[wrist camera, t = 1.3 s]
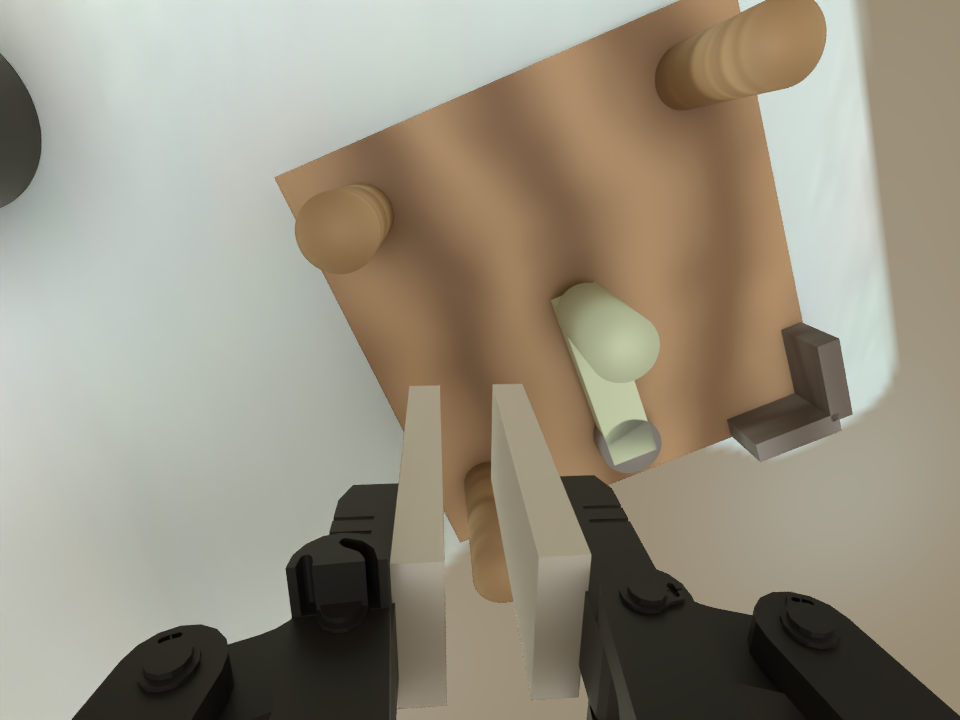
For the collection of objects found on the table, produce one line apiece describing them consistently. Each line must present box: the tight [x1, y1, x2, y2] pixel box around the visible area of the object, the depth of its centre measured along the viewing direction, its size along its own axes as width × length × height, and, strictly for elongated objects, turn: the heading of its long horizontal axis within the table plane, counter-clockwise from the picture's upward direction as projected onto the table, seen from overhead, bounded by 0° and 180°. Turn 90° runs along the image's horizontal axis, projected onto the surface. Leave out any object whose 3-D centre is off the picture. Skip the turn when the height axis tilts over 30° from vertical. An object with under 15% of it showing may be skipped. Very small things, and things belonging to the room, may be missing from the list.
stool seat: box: [275, 0, 852, 603], centre depth 26 cm, size 22×22×10 cm
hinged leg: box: [551, 282, 662, 473], centre depth 26 cm, size 11×3×7 cm, turn 22°
